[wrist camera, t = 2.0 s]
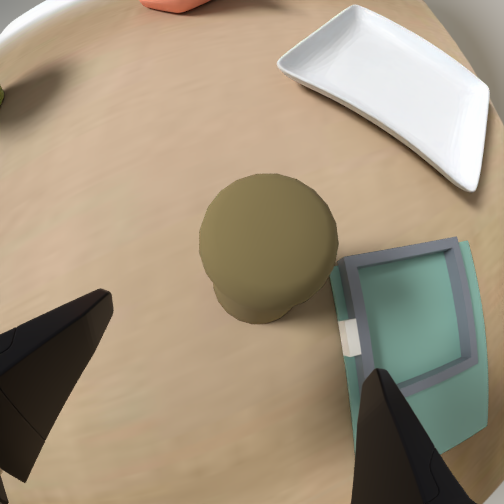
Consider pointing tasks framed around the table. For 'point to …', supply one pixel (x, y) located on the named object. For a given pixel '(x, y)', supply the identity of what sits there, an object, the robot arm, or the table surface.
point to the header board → (417, 333)
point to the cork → (267, 246)
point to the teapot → (173, 4)
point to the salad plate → (398, 88)
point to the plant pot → (1, 95)
